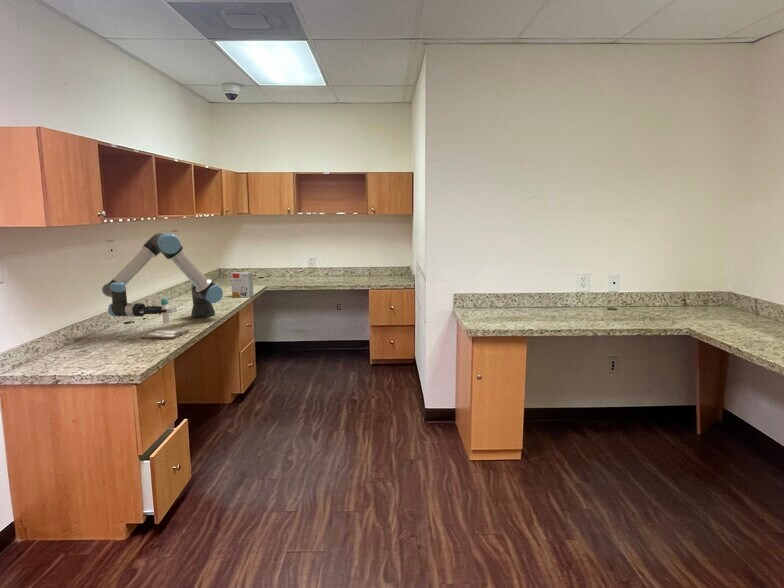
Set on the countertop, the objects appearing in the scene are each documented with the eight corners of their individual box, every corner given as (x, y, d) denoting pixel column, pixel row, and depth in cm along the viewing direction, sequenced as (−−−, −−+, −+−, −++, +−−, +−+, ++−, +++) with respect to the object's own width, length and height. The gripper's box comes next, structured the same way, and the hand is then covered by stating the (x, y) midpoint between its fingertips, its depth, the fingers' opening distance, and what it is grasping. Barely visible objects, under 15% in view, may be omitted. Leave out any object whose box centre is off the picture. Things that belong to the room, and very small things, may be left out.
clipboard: (157, 331, 296) (157, 328, 295) (188, 332, 293) (188, 328, 292) (140, 338, 280) (139, 335, 280) (173, 339, 277) (172, 335, 277)
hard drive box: (231, 297, 404) (229, 273, 401) (236, 295, 412) (234, 271, 408) (249, 297, 401) (247, 273, 397) (254, 296, 408) (252, 271, 405)
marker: (165, 322, 286) (163, 298, 284) (171, 322, 286) (168, 298, 284) (162, 323, 283) (159, 299, 281) (167, 323, 283) (165, 299, 280)
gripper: (145, 313, 295) (182, 313, 291) (127, 319, 279) (166, 319, 275) (144, 300, 293) (181, 301, 290) (126, 306, 277) (165, 306, 274)
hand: (174, 310), depth 283 cm, fingers closed on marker, 3 cm apart
